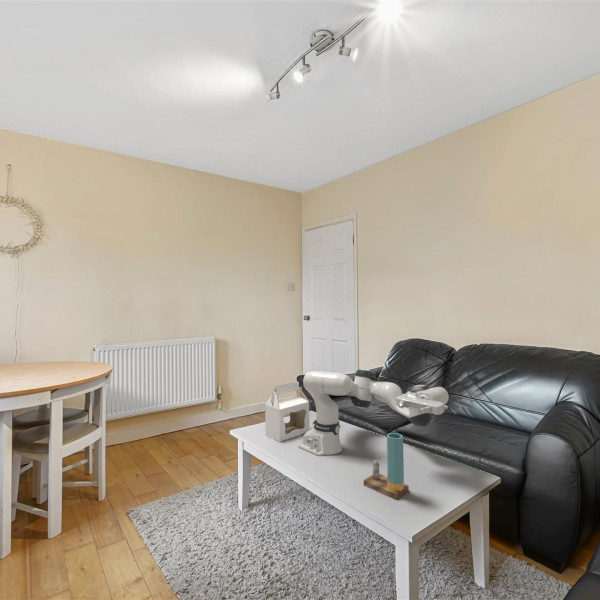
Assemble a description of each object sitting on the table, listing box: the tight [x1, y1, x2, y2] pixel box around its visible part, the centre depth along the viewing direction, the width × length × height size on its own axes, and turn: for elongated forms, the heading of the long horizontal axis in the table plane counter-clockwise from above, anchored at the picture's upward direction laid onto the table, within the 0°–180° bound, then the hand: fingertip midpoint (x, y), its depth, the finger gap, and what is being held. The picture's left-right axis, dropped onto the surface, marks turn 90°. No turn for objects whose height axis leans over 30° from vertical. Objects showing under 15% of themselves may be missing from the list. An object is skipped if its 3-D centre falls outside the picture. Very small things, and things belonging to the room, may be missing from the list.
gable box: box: [264, 381, 310, 443], centre depth 201 cm, size 22×13×28 cm, turn 131°
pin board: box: [363, 460, 409, 501], centre depth 141 cm, size 15×9×9 cm, turn 43°
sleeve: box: [386, 432, 405, 491], centre depth 138 cm, size 6×6×20 cm
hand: (410, 408), depth 146 cm, fingers open, 8 cm apart
